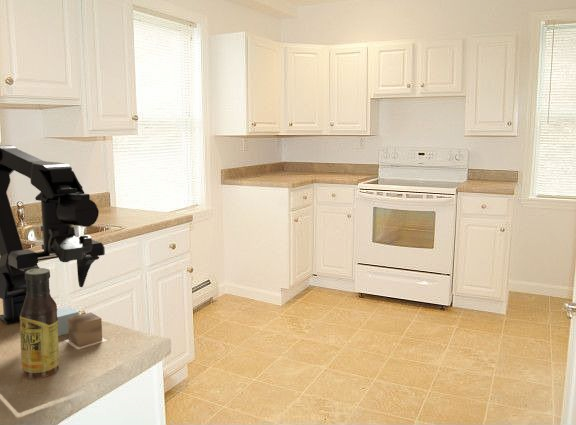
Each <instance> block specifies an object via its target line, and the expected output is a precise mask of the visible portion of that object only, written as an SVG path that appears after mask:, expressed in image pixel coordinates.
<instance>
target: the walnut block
mask: <svg viewBox="0 0 576 425" xmlns="http://www.w3.org/2000/svg"><path fill="white" fill-rule="evenodd" d="M102 323H103V322H102V317H100V316H99V315H96V314H94V313H93V312H91V311H90V312H87V313H82V314H78V316H74V317H70V318H68V331H69V333H68V339H69V341H71V342H72V343H74V344H75V345H77V346H78V347H82V346H85V345H89V344H92V343H96V342H99V341H102V338H103V325H102Z"/></svg>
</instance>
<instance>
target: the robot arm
mask: <svg viewBox="0 0 576 425" xmlns="http://www.w3.org/2000/svg"><path fill="white" fill-rule="evenodd" d="M14 172H17V173H18V174H21V175H23V176H25V177H27V178H28V179H29V180H30V185H31V186H33V187H34V188H36V189H37V190H39V193H38V194H37V195H36V196H35V197H34V199H35V201H40V205H41V206H40V208H41V222H42V223H41V226H40V231H41V232H42V236H43V237H42V240H43V243H42V244H41V249H42V250H43V251H34V250H31V249H29V248H26V249H24V246H23V244H22V243H23V242H22V241H21V237H20V234H19V231H18V227H17V223H16V220H15V218H14V214H13V211H12V207H11V203H10V200H9V196H8V189H9V186H10V184H11V176H10V175H11V174H12V173H14ZM90 196H91V195H90V194H89V193H85V191H84V189H83V186H82V185H81V183H80V181H79V180H78V178H77V175H76V173H75V172H74V170H73V168H72V166H71V165H69V164H68V163H63V162H57V161H56V162H55V161H46V160H43V159H42V158H41V159H40V158H38V157H37V156H34V155H32V154H29V153H27V152H25V151H22V150H21V149H19V148H18V147H16V146H15V145H10V144H9V145H7V144H5V145H2V144H1V145H0V299H1V300H2V310H3V314H0V320H1V321H3V322H4V323H5V324H7V325H9V324H13V323H17V322H19V323H20V313H21V310H22V307H23V304H24V300H25V297H26V292H27V288H26V287H27V286H26V280H25V272H26V271H27V270H30V269H35V268H41V267H40V266H38V265H39V262H40V261H45V260H46V261H47V260H51V259H52V260H53V259H58V260H59V261H60V262H62V263H69V262H72V261H76V269H77V270H76V271H77V281H78V286H79V288H84V285H85V283H86V282H85V281H86V279H87V276H88V273H89V270H90V268H91V265H92V264H93V263H94V262H95V261H97V260H99V259H100V256H104V255H106V253H105V252H106V251H105V249H106V248H105V246H104V244H103V243H102V242H100V241H98V240H94V239H92V238H93V237H92V236H90V234H85V235H80V236H77V235H76V234H75V227H74V226H78V227H83V228H84V227H85V228H87V227H88V228H89V227H92V226H93V225H94V224H95V223H96V222H97V221H98V218H99V214H100V213H99V210H100V209H99V208H98V205H97V204H96V203H95V202H94V201H93V200H92V199H91V198H90Z"/></svg>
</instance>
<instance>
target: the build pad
mask: <svg viewBox="0 0 576 425" xmlns="http://www.w3.org/2000/svg"><path fill="white" fill-rule="evenodd" d="M107 341H108V340H107V339H105V338H104V337H102V341H99V342H96V343H92V344H89V345H85V346H82V347H78V346H77V345H75V344H74V343H72V342H71V341H69V338H68V339H64V342H66V343H67V344H69V346H72V347H73V348H74V349H76V350H81V349H83V348H87V347H91V346H94V345H97V344H100V343H104V342H107Z"/></svg>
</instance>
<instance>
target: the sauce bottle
mask: <svg viewBox="0 0 576 425" xmlns="http://www.w3.org/2000/svg"><path fill="white" fill-rule="evenodd" d="M50 277H51V271H50V269H49V268H45V267H40V268H35V269H30V270H27V271H26V272H25V280H26V286H27V287H26V288H27V292H26V297H25V300H24V304H23V307H22V310H21V313H20V321H19V334H20V354H21V355H20V357H21V369H22V374H23V376H24V377H25V378H28V379H41V378H45V377H46V378H47V377H50V376H52V375H53V374H56V372H58V370H59V368H60V367H59V366H60V365H59V364H60V353H59V352H60V350H59V348H60V347H59V336H58V318H57V309H58V305H57V303H56V301H55V300H54V298H53V297H52V295H51V290H50Z"/></svg>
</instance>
